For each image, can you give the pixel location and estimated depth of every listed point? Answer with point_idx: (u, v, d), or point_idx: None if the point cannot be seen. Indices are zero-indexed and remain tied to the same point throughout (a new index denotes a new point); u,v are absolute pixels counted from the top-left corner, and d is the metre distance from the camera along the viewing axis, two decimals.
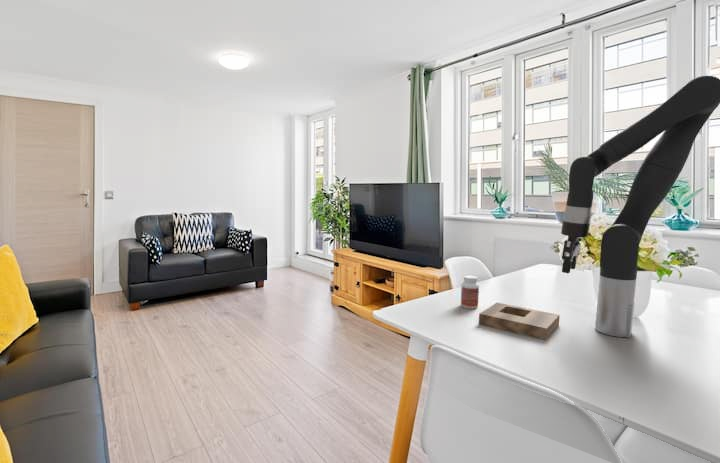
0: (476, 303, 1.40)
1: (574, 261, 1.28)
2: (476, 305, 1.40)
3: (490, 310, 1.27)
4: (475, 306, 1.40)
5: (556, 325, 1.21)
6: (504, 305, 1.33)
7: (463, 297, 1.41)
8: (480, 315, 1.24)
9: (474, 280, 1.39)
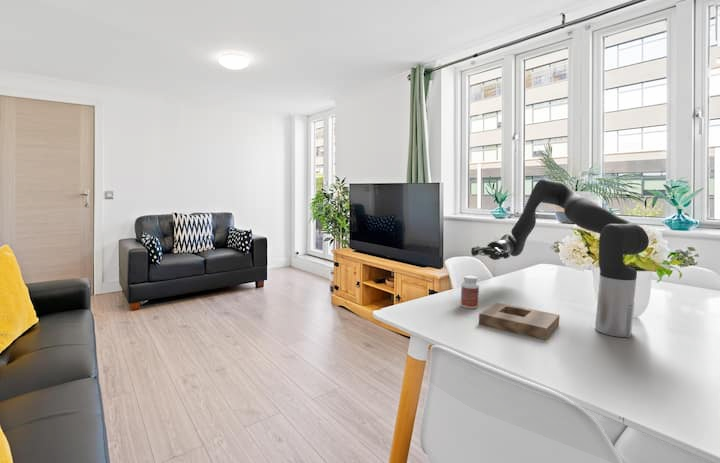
0: (476, 303, 1.40)
1: None
2: (476, 305, 1.40)
3: (490, 310, 1.27)
4: (475, 306, 1.40)
5: (556, 325, 1.21)
6: (504, 305, 1.33)
7: (463, 297, 1.41)
8: (480, 315, 1.24)
9: (474, 280, 1.39)
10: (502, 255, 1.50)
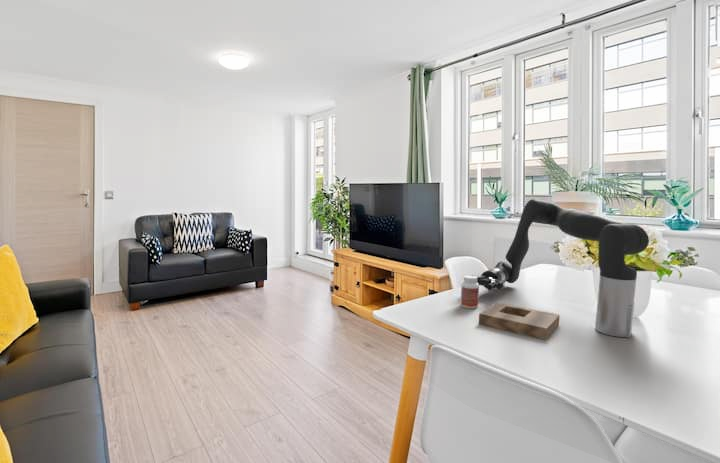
0: (476, 303, 1.40)
1: None
2: (476, 305, 1.40)
3: (490, 310, 1.27)
4: (475, 306, 1.40)
5: (556, 325, 1.21)
6: (504, 305, 1.33)
7: (463, 297, 1.41)
8: (480, 315, 1.24)
9: (474, 280, 1.39)
10: (496, 286, 1.47)
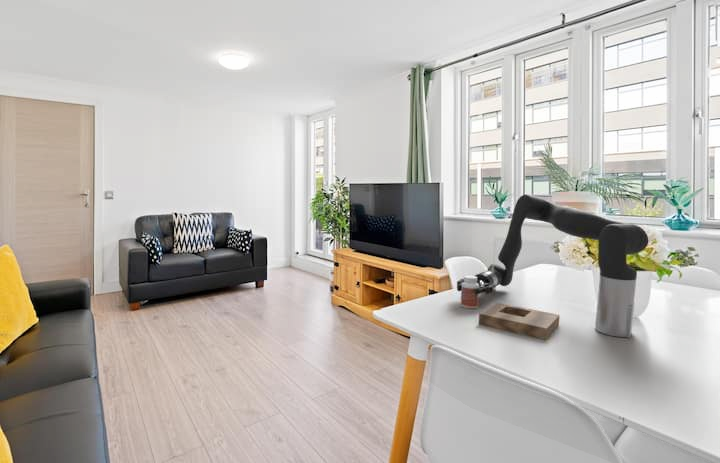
0: (476, 303, 1.40)
1: None
2: (476, 305, 1.40)
3: (490, 310, 1.27)
4: (475, 306, 1.40)
5: (556, 325, 1.21)
6: (504, 305, 1.33)
7: (463, 297, 1.41)
8: (480, 315, 1.24)
9: (474, 280, 1.39)
10: (484, 290, 1.40)
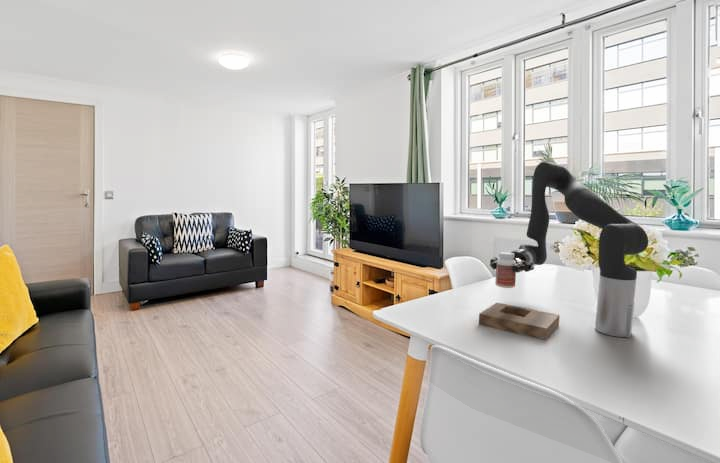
0: (513, 282, 1.26)
1: None
2: (513, 284, 1.27)
3: (490, 310, 1.27)
4: (512, 285, 1.26)
5: (556, 325, 1.21)
6: (504, 305, 1.33)
7: (499, 275, 1.27)
8: (480, 315, 1.24)
9: (511, 256, 1.26)
10: (523, 268, 1.27)
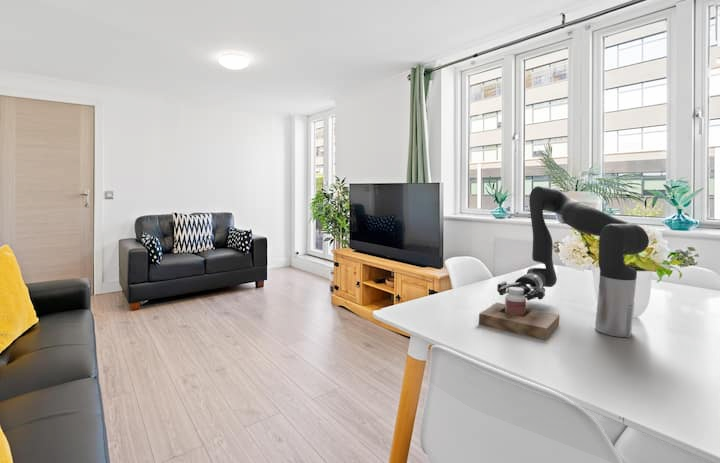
0: None
1: None
2: None
3: (490, 310, 1.27)
4: None
5: (556, 325, 1.21)
6: (504, 305, 1.33)
7: (508, 311, 1.25)
8: (480, 315, 1.24)
9: (521, 292, 1.24)
10: (536, 295, 1.24)
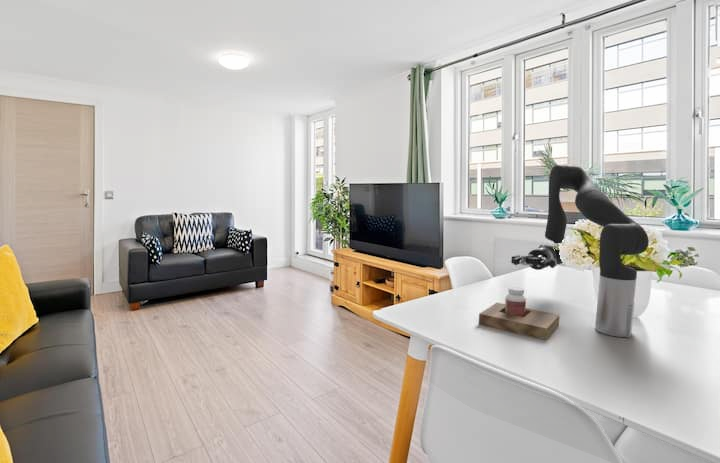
0: None
1: None
2: None
3: (490, 310, 1.27)
4: None
5: (556, 325, 1.21)
6: (504, 305, 1.33)
7: (508, 311, 1.25)
8: (480, 315, 1.24)
9: (521, 292, 1.24)
10: (549, 264, 1.33)
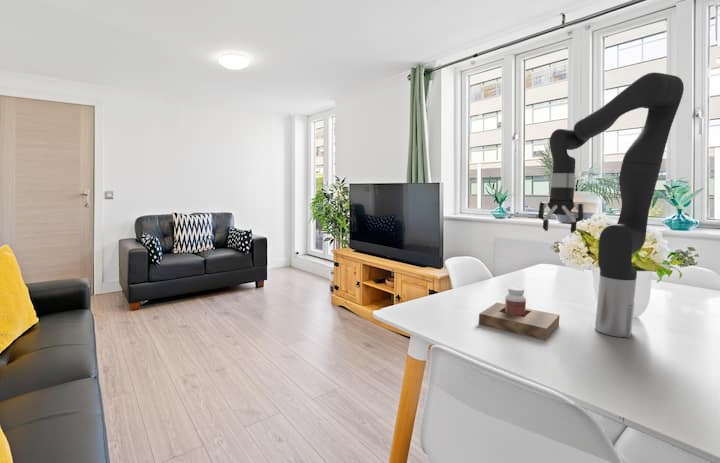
0: None
1: (571, 225, 1.37)
2: None
3: (490, 310, 1.27)
4: None
5: (556, 325, 1.21)
6: (504, 305, 1.33)
7: (508, 311, 1.25)
8: (480, 315, 1.24)
9: (521, 292, 1.24)
10: (577, 221, 1.36)
